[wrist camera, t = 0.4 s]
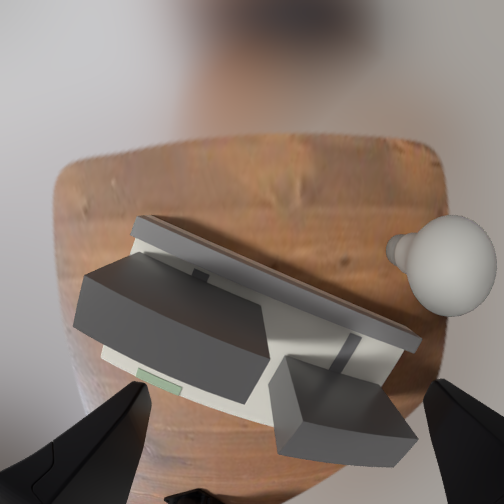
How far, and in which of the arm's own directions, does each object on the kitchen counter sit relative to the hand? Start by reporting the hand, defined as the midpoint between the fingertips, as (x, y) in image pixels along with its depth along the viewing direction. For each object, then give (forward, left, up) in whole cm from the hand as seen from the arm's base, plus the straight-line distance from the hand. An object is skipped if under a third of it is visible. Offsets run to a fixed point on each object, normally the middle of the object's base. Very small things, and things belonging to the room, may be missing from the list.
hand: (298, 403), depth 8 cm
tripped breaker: (-1, -10, -13) cm, 17 cm away
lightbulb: (+10, -4, -15) cm, 19 cm away
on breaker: (-5, +3, -13) cm, 14 cm away
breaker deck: (-4, -4, -15) cm, 16 cm away
